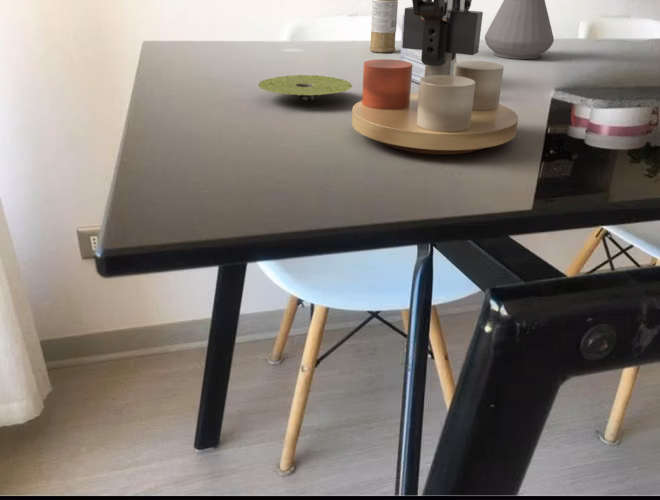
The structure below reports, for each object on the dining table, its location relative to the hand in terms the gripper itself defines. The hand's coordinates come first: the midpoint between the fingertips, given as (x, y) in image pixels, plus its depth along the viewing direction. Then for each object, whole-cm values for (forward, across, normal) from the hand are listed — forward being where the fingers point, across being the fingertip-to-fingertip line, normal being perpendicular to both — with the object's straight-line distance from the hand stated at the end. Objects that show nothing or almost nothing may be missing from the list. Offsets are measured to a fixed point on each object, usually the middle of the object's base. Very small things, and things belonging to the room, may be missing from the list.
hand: (438, 61), depth 60 cm
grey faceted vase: (+8, +56, +1) cm, 57 cm away
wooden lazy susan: (+6, 0, 0) cm, 6 cm away
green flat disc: (+8, +7, +19) cm, 22 cm away
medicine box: (+8, +26, +11) cm, 29 cm away
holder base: (+7, 0, 0) cm, 7 cm away
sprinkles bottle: (+8, +46, +27) cm, 54 cm away
